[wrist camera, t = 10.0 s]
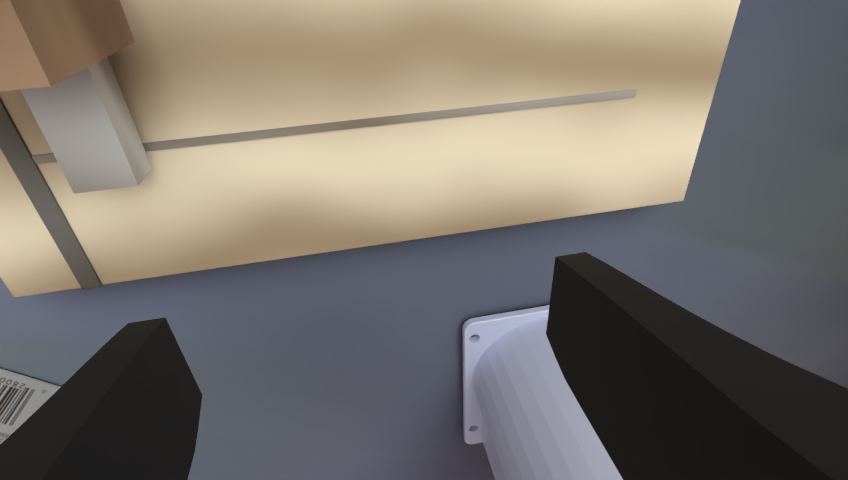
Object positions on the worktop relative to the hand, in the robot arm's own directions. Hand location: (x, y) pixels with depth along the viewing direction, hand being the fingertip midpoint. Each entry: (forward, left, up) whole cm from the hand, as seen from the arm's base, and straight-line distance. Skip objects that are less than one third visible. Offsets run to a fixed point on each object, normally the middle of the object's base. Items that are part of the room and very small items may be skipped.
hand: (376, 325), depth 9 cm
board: (+3, 0, -9) cm, 10 cm away
